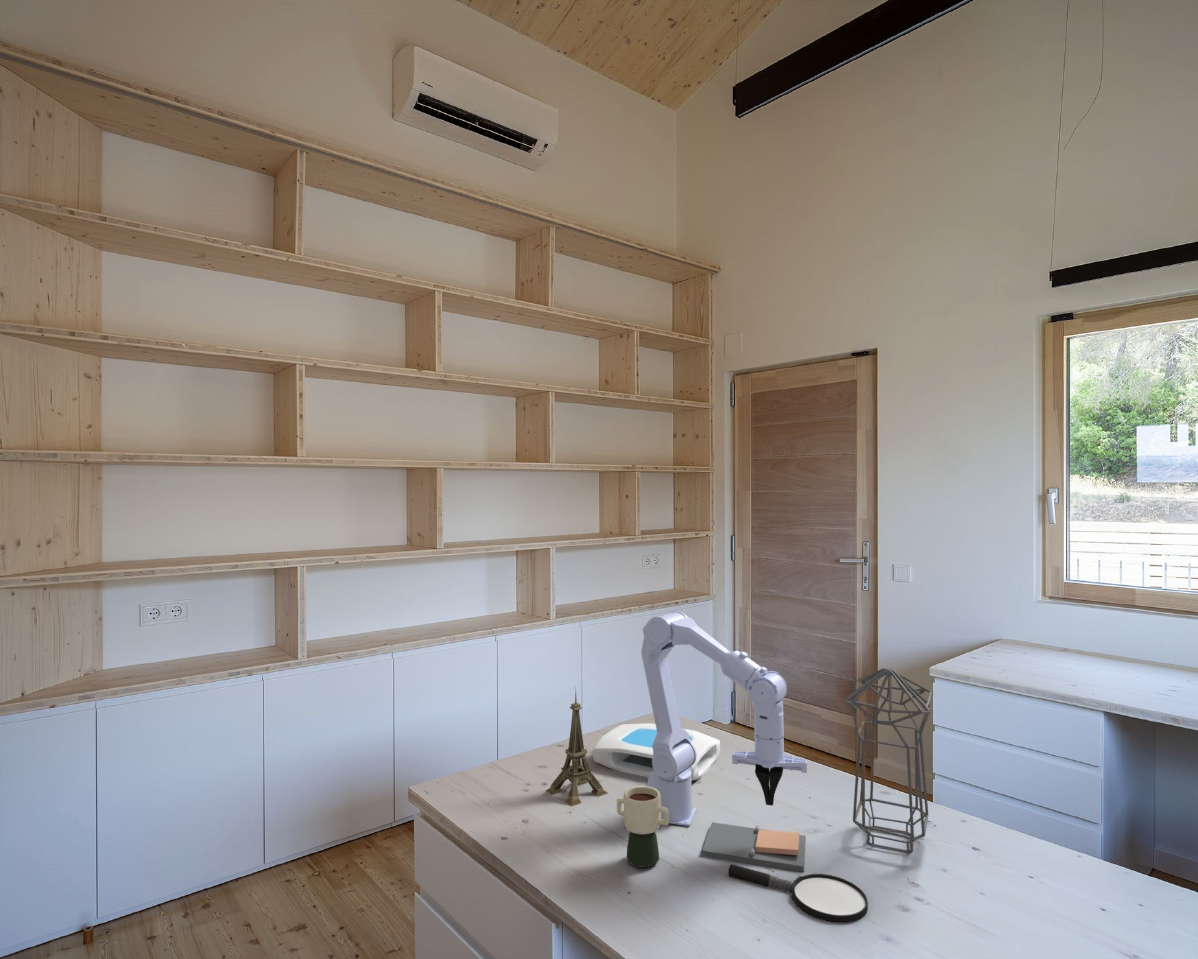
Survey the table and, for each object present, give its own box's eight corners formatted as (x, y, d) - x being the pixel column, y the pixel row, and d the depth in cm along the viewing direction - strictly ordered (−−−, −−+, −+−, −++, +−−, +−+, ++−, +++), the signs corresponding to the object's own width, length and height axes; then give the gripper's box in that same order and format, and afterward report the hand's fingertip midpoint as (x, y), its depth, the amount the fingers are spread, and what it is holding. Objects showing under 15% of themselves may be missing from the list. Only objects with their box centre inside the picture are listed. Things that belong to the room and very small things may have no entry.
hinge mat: (702, 855, 132) (702, 845, 133) (712, 826, 144) (711, 817, 144) (803, 871, 126) (803, 861, 126) (805, 840, 138) (805, 831, 138)
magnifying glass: (739, 860, 132) (739, 848, 132) (872, 896, 120) (872, 883, 120) (718, 893, 121) (719, 880, 121) (862, 936, 109) (862, 922, 109)
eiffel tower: (571, 806, 154) (570, 696, 155) (545, 791, 162) (544, 686, 163) (607, 793, 161) (606, 687, 161) (580, 779, 169) (580, 678, 170)
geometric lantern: (934, 831, 141) (933, 663, 141) (931, 871, 127) (929, 684, 127) (854, 814, 148) (852, 655, 148) (842, 850, 134) (841, 673, 134)
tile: (798, 849, 129) (798, 855, 129) (799, 832, 136) (800, 837, 136) (755, 846, 132) (755, 852, 132) (758, 829, 138) (759, 834, 138)
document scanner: (692, 787, 164) (692, 761, 164) (592, 766, 177) (591, 742, 178) (721, 757, 182) (720, 734, 182) (627, 740, 196) (627, 718, 196)
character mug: (676, 859, 131) (675, 791, 132) (662, 877, 125) (661, 806, 125) (625, 846, 136) (624, 781, 137) (609, 863, 130) (608, 795, 130)
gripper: (729, 737, 135) (730, 806, 135) (805, 746, 130) (806, 817, 130) (734, 726, 142) (735, 791, 141) (807, 733, 137) (808, 801, 137)
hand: (769, 803), depth 136 cm, fingers closed
